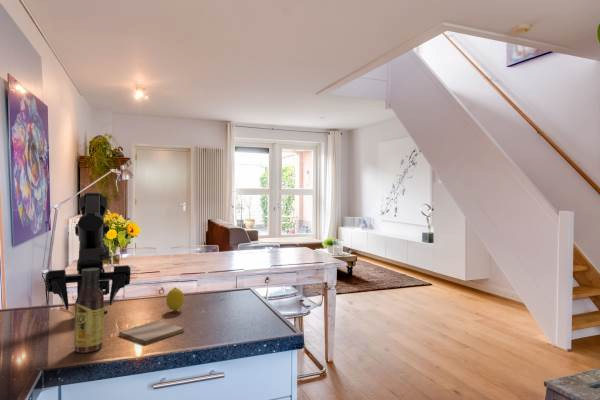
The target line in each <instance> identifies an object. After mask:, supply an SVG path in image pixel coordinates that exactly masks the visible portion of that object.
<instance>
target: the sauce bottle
mask: <svg viewBox="0 0 600 400" xmlns="http://www.w3.org/2000/svg"><path fill="white" fill-rule="evenodd" d="M81 275H82V285H81V289H80V291H79V294H78V297H76V299H75V301H74V303H75V304H74V337H73V338H74V342H73V343H74V344H73V345H74V351H75V352H77V353H79V354H80V353H81V354H88V353H92V352H96V351H98V350H100V349H102V347H103V343H104V318H105V315H104V314H105V313H104V310H105V306H104V305H105V300H104V298H105V297H104V296H105V295H103V292H102V291H101V290H100V288H99V275H100V268H85V269H82V270H81Z"/></svg>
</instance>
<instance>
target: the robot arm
mask: <svg viewBox="0 0 600 400" xmlns="http://www.w3.org/2000/svg"><path fill="white" fill-rule="evenodd" d="M78 201H79V202H78V210H79V212H81V216H80V217H79V220H78V221H77V223H75V226H74V232H75V233H74V234H75V236H76V237H78V241H79V245H78V259H77V262H76V271H77V273H71V274H66V269H55V270H54V269H53V270H51V269H50V270H48V271H47V272H46V273H45V278H44V279H45V280H44V281H45V285H46V291H47V292H49V293H53V294H54V295H58V296H59V298H60V299H61V301H62V303H63V306H64V308H65V311H69V298H68V297H69V296H68V288H67V286H68V285H67V284H70V283H71V284H72V283H76V288H77V289H76V290H77V291H76V293H77V295H76V296H77V297H78V294H79V291H80V289H81V285H82V275H81V270H82V269H85V268H100V275H99V288H100V290H101V291H102V292H103V295H104V296H108V295H109V306H112V305H113V304H114V301H115V298H116V296H117V294H118V292H119V291H120V289H123V288H125V286H128V285H130V283H131V267H130V265H127V264H126V265H114V266H113V271H108V272H106V271H105V269H104V261H109V260H110V246H104V241H103V239H104V238H105V236H107V235H108V232H110V226H109V225H108V224H107V222H105V217H106V212H107V211H108V197H106V196H105V195H103V193H100V192H85V193H84V195H83V196H79V199H78ZM110 281H111V287H110ZM77 297H76V298H77ZM108 312H109V311H108V310H105V309H104V314H107V313H108Z"/></svg>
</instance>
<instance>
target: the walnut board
mask: <svg viewBox="0 0 600 400" xmlns="http://www.w3.org/2000/svg"><path fill="white" fill-rule="evenodd" d="M184 332H185V327H181V326H178V325H174V324H171V323H168V322H164V321H161V320H156V321H152V322H148V323H145V324H142V325H138V326H134V327H131V328H128V329H123V330H121V331H119V332H118V333H119V336H120V337H123V338H125V339H128V340H131V341H134V342H136V343H139V344H142V345H145V346H146V345H149V344H152V343H154V342H158V341H160V340H163V339H167V338H169V337H173V336H174V335H175V336H177V335H178V334H180V333H181V334H182V333H184Z"/></svg>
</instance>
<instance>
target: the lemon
mask: <svg viewBox="0 0 600 400" xmlns="http://www.w3.org/2000/svg"><path fill="white" fill-rule="evenodd" d="M184 301H185V296H184V293H183V291H182V290H181V289H180V288H177V287H173V288H172V289H170V290H169V291H168V293H167V295H166V305H167V307H168V309H170V310H172V311H174V312H177V311H178V310H179V309H181V308H182V307H183V305H184Z"/></svg>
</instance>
